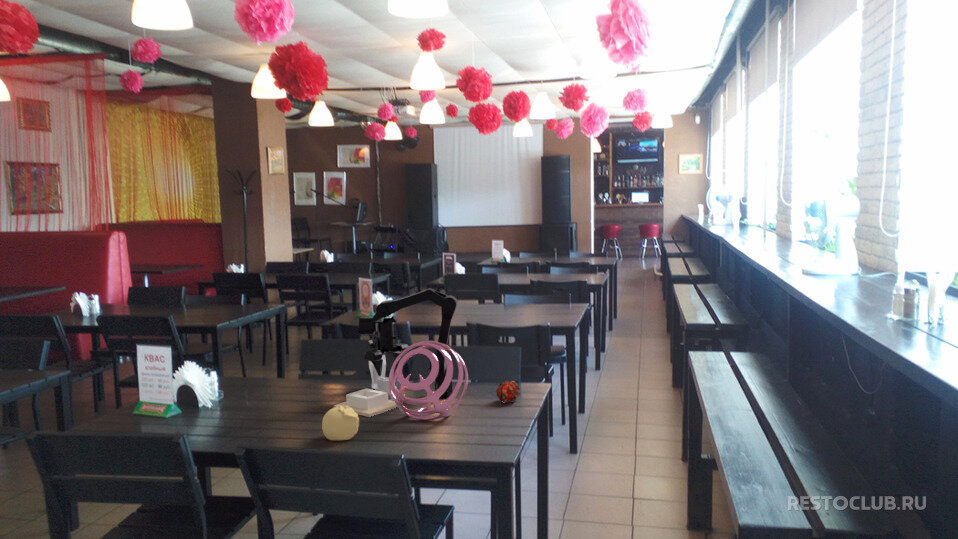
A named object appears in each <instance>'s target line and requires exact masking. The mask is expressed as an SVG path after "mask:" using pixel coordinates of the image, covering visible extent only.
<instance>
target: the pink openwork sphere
mask: <svg viewBox="0 0 958 539" xmlns="http://www.w3.org/2000/svg"><path fill="white" fill-rule="evenodd" d="M438 344H439V345H438ZM408 346H409V347H407V348H406V349H404V350H403V351H402V352H401V353H400V354H399V355H398V356H397V358H396V359H394V361H393V363H392V365H391V368H390V371H389V374H388V375H389V376H388V377H389V390H390V394H391V396H392V399H393V400H392V401H394V402H395V403H396V405H397V406H398V407H397V408H398V409H399V410H400V411H401V412H402V414H404V415H406V416H408V417H409V418H411V419H413V420H417V421H421V422H422V421H423V422H431V421H436V420H439V419H442V418H446V417H449V416H450V415H451V414H452V412H454V411H455V409H456V408H458V406H459V405H460V404H461V402H462V401H463V398H464V397H465V395H466V392H467V388H468V386H469V385H468V384H469V373H468V368H467V365H466V363H465V361H464V360H463V358H462V356H461V355H460V354H459V353H458V352H457V351H455V350H454V349H453V348H452V347H451V346H449V345H448V344H447V345H446V344H444V343H441V342H438V340H437V341H435V340H425V341H419V342H416V343H414V344H411V345H408ZM416 347H417V348H416ZM430 349H431V350H433V349H436V350H437V349H438V350H439V351H440V352H441V353H442V354H443V356H444V358H445V360H446V368H447V371H446V376H445V379H444V381H443V383H442V384H441V386H440V387H439V388H438V389H437V390H436V391H435V390H434V391H433V390H432V389H431V387H430V386H431V385H432V384H433V383H435V379H436V377H437V375H438V372H439V362H438V359H437V357H436V353H434V351H431V350H430ZM406 352H407V353H406ZM405 353H406V354H405ZM450 353H451V354H452V356H453V357H454V358H455V361H456V364H457V368H458V377H457V381H456V384H455V387H454V389H453V392H452V394H451V395H450V396H449V397H448V398H446V399H442V401H443V402H441V401H440V399H441V398H440V396H441V395H442V394H443V393H444V392H445V391H446V390H447V388H448V386H449V385H450V382H451V381H453V380H452V379H453V375H454V364H453V360H452V357H451V355H450ZM404 354H405V355H404ZM419 354H420V355H424V356H426V357H427V358H428V359H429V362H430V361H431V365H432V368H431V372H430V371H429V375H427V377H426V378H424V377H423V376H422V375H421V374H418V376H419V380H420V381H419V382H410V381H409V380H410V378H411V373H409V374H408V375H407V377H404V374H403V368H404V366H405V364H407V362H408V361H409V360H410V359H411V358H412V357H414V356H416V355H419ZM403 355H404V356H403ZM402 356H403V357H402ZM401 357H402V359H401V360H400V358H401ZM399 360H400V362H399V364H398V367H397V369H395V366H396V364H397V362H398V361H399ZM397 379H398V381H399V382H400V384H401V388H400V389H397V388H396V383H397ZM463 381H464V386H463V389H462V392H461V394H460V396H458V394H459V393H460V391H461V388H462V385H463ZM406 390H409V391H415V392H417V391H422V390H424V391H425V392H426V396H424V397H420V398H414V397H413V398H412V397H409V396H406V395H405V391H406ZM457 396H458V397H459V398H458V399H457V401H456V402H455V403H454V404H453V405H452V406H451V407H449V405H451V404H452V402H454V400H455V399H456V397H457ZM403 403H405V404H408V405H411V406H421V407H419V408H416V409H410V408H408V407H406V406H404V404H403ZM431 405H433V407H432V408H430V409H428V408H429V407H430V406H431ZM434 414H438V415H436V416H431V417H425V416H430V415H434Z"/></svg>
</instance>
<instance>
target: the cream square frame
mask: <svg viewBox="0 0 958 539" xmlns="http://www.w3.org/2000/svg"><path fill="white" fill-rule="evenodd" d="M345 397H346V398H345V399H346V401H344V402H340V403H337V404H334V405H333V408H335V407H336V406H337V405H342V406H349V407H351V408H352V409H354V411H355V412H356V413H357V414H358V416H359V415H360V416H364V417H367V418H371V416H372V417H374V415H375V416H377V415H379V414H383V413H386V412H389V411H391V409H392V410H395V409H397V408H399V407H398V406H397V405H396V403H395V402H394V400H388V393H387V392H382V391H380V390H373V389H372V388H368V387H367V388H363V389H360V390H357V391H354V392H350V393H348V394H346V395H345ZM396 407H397V408H396ZM394 408H395V409H394ZM388 410H389V411H388Z"/></svg>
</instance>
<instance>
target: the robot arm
mask: <svg viewBox="0 0 958 539" xmlns="http://www.w3.org/2000/svg"><path fill="white" fill-rule="evenodd" d="M425 301H431V302H432V303H434V304H435V305H437V306H439V307H441V311H440V312H441V313H440V314H441V323H440V328H439V334H438V340H437V342H441V343H444V344H446V345H448V341H449V336H450V329H451V326H452V319H453V317H454V315H455V311H456V309H457V307H458V299H457V297H455V296H454V295H451V294H448V295H447V294H444V293H443V292H440V291H437V290H435V289H433V288H427V289H425V290H421V291H418V292H417V293H412V294H409V295H408V296H407V295H406V296H404V297H402V298H397V299H396V298H395V299H388V300H383V301H381V302H380V303H379V304H378V305H377V306H376V307H375V314H373V316H371V317H364V316H361V317H359V318H358V320H359V321H358V327H357V330H358V334H359V336H366V335H368V336H369V335H370V336H371V335H375V333H376V332H378V336H376V338H375V340H374V341H373V340H372V339H370V340H367V341H365V348H366V350H368V351H365V353H364V360H367V361H368V362H369V361H371V362H372V363H373V365H374V367H375V369H376V371H377V374H378V376H381V374H382V364H383V359H381V358H382V355H385V356H386V355H389V354H390V355H391V354H392V355H393V357H394V360H395V359H396V358H397V356H398V355H399V354H400V353H401V352H402V351H403V350H404V349H406V348H407V347H409V346H410V345H408V344H406V343H400V342H399V343H396V344H395V339H397V336H396V335H395V334H394V323H397V322H398V321H399V319H398V318H396V316H394V314H395V313H396V312H398V311H400V310H402V309H405V308H408V307H410V306H414V305H417V304H419V303H422V302H423V303H424V302H425ZM389 316H391V317H389ZM380 319H382V320H380ZM438 345H439V344H438ZM384 352H385V353H384ZM406 353H408V352H406ZM406 353H405V354H406ZM405 354H404V355H405ZM404 355H403V356H404ZM435 355H436V357H437V359H438V362H439V372H438V375H437V377H436V379H435V380H434V392H435V391H436V390H437V389H438V388H439V387H440V386H441V384H442V383H443V381H444V379H445V376H446V371H447V365H446V360H445V358H444V356H443V354H442V353H441V352H440V351H439V350H438V349H436V351H435ZM403 356H402V357H403ZM402 357H401V358H400V360H401V359H402ZM400 360H399V361H398V362H397V364H396V366H395V369H394V370H396V369H397V367H398V364H399V362H400ZM431 368H432V365H431V361H430V360H429V366H428V369H427V370H429V373H430V372H431ZM453 391H454V389H453V380H451V382H450V385H449V386H448V388H447V390H446V391H445V392H444V393H443V394H442V395H441V396H440V398H439V399H442V400H443V399H444V400H447V399H448V397H449V396H450V395H451V394H452V392H453Z"/></svg>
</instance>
